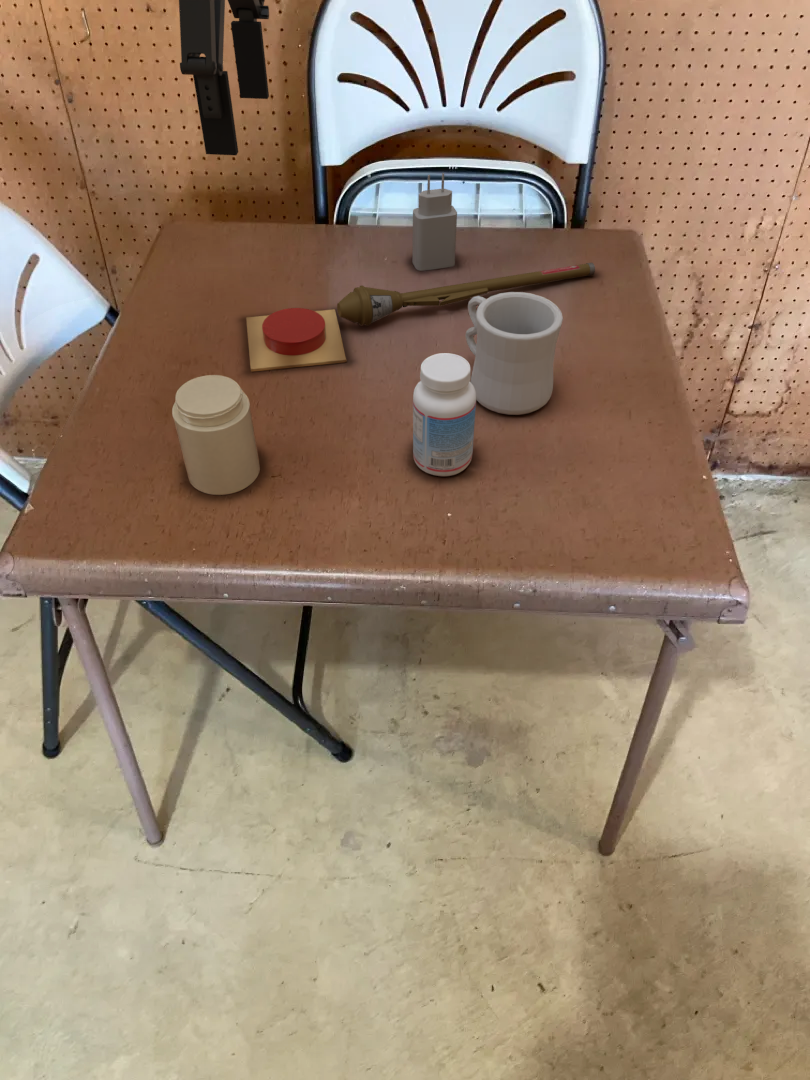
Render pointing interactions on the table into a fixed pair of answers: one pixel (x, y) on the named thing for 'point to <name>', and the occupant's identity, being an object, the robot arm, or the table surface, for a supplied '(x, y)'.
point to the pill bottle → (444, 415)
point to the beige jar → (216, 434)
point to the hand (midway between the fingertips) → (239, 124)
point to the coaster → (271, 360)
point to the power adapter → (434, 229)
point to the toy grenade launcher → (442, 293)
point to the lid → (294, 331)
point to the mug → (513, 350)
